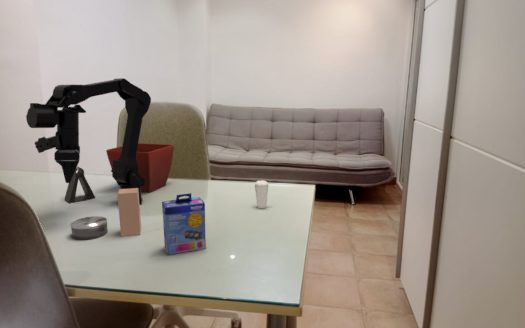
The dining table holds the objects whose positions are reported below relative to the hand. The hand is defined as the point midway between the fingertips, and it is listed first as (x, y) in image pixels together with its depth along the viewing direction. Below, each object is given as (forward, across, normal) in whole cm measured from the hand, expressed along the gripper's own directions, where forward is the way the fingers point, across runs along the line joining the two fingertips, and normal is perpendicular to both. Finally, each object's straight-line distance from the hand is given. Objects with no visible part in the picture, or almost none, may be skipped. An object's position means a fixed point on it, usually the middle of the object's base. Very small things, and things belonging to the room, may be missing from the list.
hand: (68, 179), depth 114 cm
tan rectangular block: (+12, +19, +16) cm, 27 cm away
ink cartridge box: (+11, +36, +27) cm, 47 cm away
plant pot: (+10, -30, +26) cm, 41 cm away
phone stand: (+12, -24, +3) cm, 27 cm away
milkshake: (+8, +15, +58) cm, 61 cm away
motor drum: (+12, +15, +6) cm, 20 cm away
